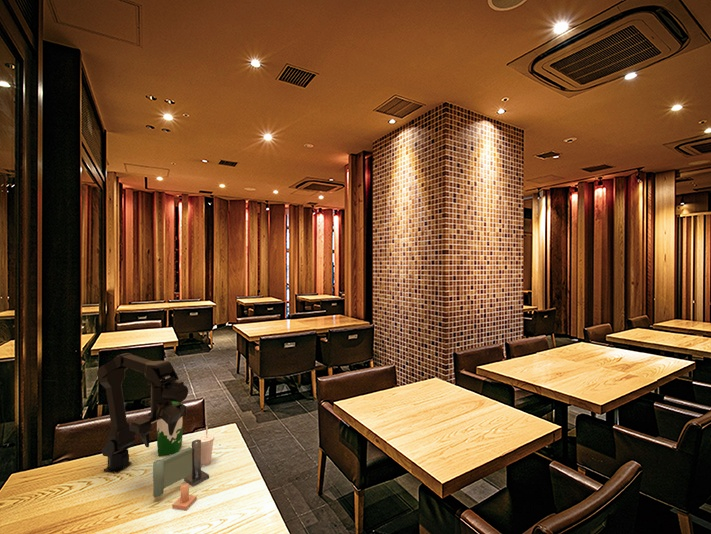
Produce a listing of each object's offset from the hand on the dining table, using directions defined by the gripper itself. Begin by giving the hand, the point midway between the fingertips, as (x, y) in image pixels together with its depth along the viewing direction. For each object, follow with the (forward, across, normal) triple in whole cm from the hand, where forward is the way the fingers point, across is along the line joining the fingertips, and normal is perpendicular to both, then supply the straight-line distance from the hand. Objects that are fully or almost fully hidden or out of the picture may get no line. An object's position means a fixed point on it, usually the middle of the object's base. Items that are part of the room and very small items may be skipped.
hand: (159, 441), depth 124 cm
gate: (+11, -3, -12) cm, 17 cm away
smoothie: (+13, +14, -8) cm, 21 cm away
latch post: (+13, -6, -20) cm, 25 cm away
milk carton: (+14, +14, +13) cm, 24 cm away
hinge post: (+13, +5, -13) cm, 19 cm away
